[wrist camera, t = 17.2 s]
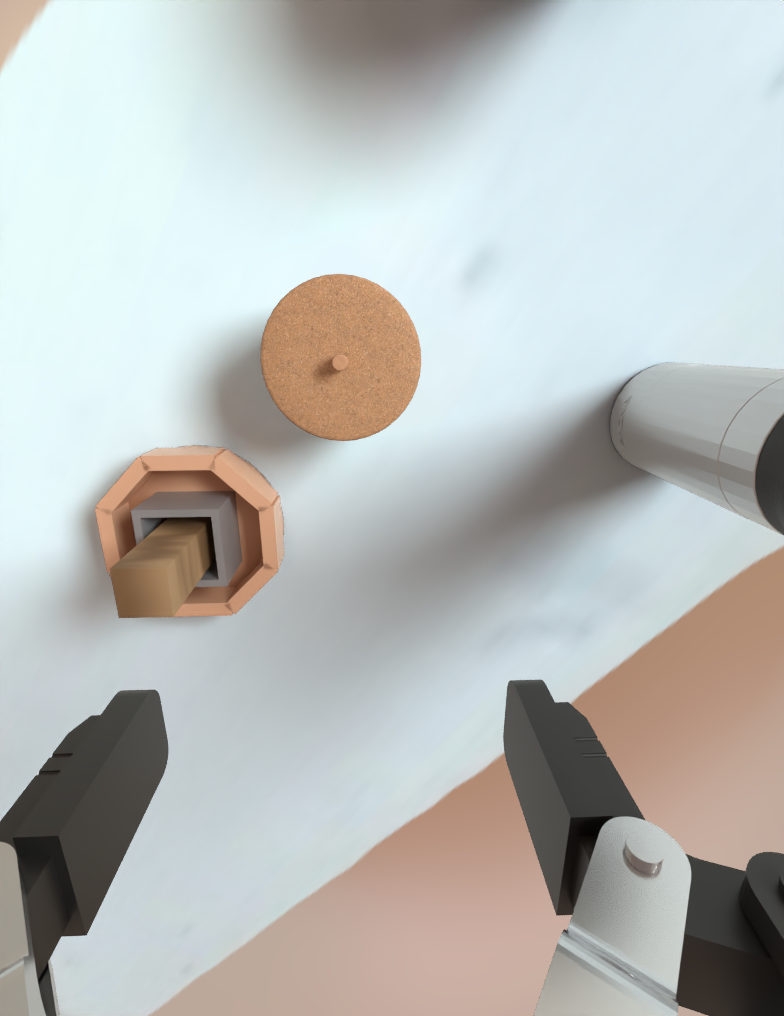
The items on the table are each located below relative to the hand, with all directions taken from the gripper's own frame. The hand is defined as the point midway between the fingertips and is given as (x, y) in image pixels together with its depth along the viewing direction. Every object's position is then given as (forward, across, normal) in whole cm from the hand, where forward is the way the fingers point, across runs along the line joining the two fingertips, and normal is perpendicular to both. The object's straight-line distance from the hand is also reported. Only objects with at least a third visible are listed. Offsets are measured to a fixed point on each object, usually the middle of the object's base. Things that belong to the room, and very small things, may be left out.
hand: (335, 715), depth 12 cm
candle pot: (+33, +14, +7) cm, 37 cm away
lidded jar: (+33, +1, -7) cm, 34 cm away
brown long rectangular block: (+32, +14, +7) cm, 36 cm away
